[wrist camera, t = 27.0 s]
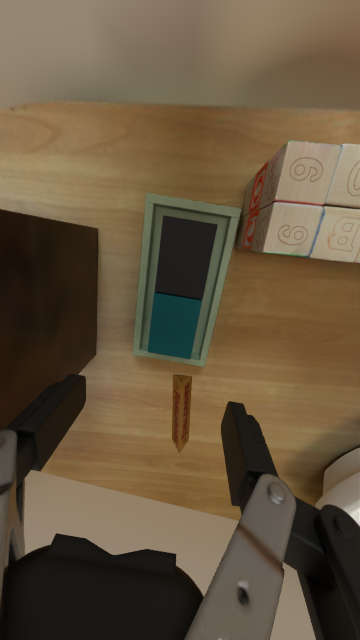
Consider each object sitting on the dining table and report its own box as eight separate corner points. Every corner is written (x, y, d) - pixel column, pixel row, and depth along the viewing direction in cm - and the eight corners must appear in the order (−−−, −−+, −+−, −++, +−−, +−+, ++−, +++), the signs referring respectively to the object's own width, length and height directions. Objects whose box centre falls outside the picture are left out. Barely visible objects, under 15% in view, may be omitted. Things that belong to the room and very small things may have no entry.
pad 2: (158, 287, 23) (153, 292, 21) (201, 294, 23) (202, 300, 20) (152, 340, 26) (147, 352, 23) (190, 347, 26) (190, 359, 23)
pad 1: (167, 219, 21) (163, 215, 18) (214, 227, 21) (218, 224, 18) (159, 285, 23) (154, 291, 20) (201, 292, 23) (202, 299, 20)
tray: (150, 197, 21) (146, 192, 19) (237, 212, 21) (241, 208, 19) (136, 347, 27) (132, 354, 25) (203, 358, 27) (204, 367, 25)
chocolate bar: (192, 376, 28) (191, 386, 26) (188, 439, 32) (188, 453, 30) (173, 375, 28) (171, 385, 26) (172, 438, 32) (170, 452, 30)
